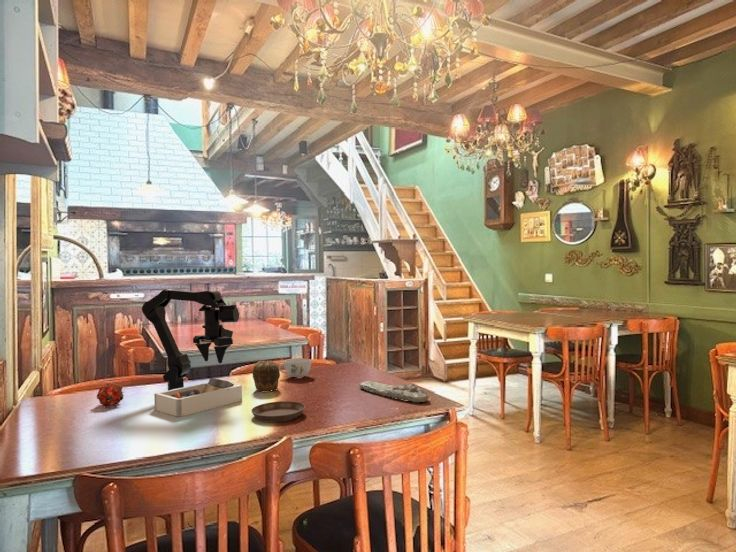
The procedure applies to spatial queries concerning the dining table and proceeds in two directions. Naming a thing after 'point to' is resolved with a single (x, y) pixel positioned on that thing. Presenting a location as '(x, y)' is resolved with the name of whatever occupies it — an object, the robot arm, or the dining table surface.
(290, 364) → the teacup
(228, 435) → the dining table surface
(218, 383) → the trapdoor
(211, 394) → the frame
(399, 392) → the long grey stone
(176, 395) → the supplement bottle
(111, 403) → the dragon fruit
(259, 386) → the brown ridged rounded piece
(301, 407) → the plant saucer
